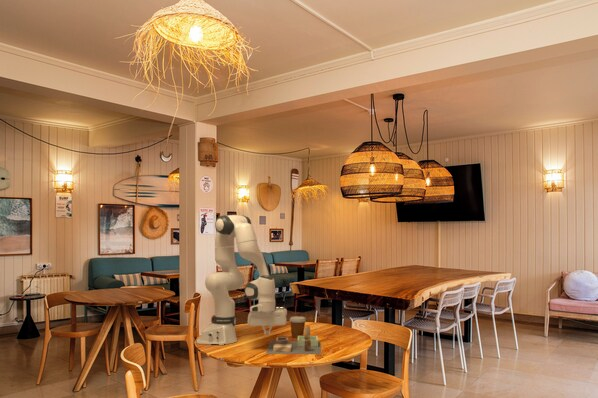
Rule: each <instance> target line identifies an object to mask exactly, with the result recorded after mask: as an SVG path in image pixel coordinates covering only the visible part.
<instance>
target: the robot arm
mask: <svg viewBox="0 0 598 398" xmlns="http://www.w3.org/2000/svg"><path fill="white" fill-rule="evenodd" d="M214 227H215V230H216V233H215V236H214V237H215V238H214V260H215V262H216V264H218V265H219V266H220V268H221V271H217V272H212V273H211V274H208V275H207V276H206V278H205V281H204V285H205V288H206V289H207V291H208V292H210V293H211V295H212V298H213V300H214V314H213V315H212V316H211V319H210V320H211V321H210V323H209V324H208V325H207V326H206V327H205V328H203V329H202V331H201V332H200V333H201V334H200V337H199V338H197V339H196V344H198V345H211V344H219V345H218V346H224V344H225V345H228V344H235V343H236V342H238V338H237V335H236V334H237V333H236V319H237V318H236V315H235V313H236V312H235V311H236V302H235V300H234V299H233V298H231V297H230V295H229V294H230V293H229V291H235V290H238V289H240V288H242V287H243V286H244V285H245V286H244V290H243V291H244V295H245V298H247V299H248V300H250V301H255V300H258V303H256V304H253V305H251V306H250V307H249V313H248V316H247V326H248V327H261V329H263V332H264V335H271V330H272V329H273V327H274V326H286V325H287V321H288V320H287V315H288V310H287V307H284V306H276V298H275V296H276V285H275V284H276V283H275V279H274V277H273V276H272V275H271V273H270V269H269V266H268V263H267V259H266V257H265V254H264V253H263V252H262V251H261V249H260V246H259V244H258V240H257V236H256V232H255V229H254V227H253V225H252V221H251V219H250V217H248V216H246V215H240V214H239V215H238V214H232V215H231V214H230V215H229V214H228V215H220V216H218V217H217V218H216V220H215V225H214ZM235 241H236V247H237V252H238V254H239V256H240V258H243V259H244V260H247V261H249V262H251V263H252V264H254V265H255V267H256V268H257V273H258V276H259V277H258V278H257V279H255V280H251V281H249V282H247V283H246V284H245V280H246V279H245V275H244V274H243V272H242V271H240V270H239V267H238V265H237V262H236V256H235V255H236V254H235ZM266 326H268V327H269V330H266Z"/></svg>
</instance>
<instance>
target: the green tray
mask: <svg viewBox="0 0 598 398" xmlns="http://www.w3.org/2000/svg"><path fill="white" fill-rule="evenodd" d="M310 340H311V347H318V342H319V337H318V335H310ZM296 341H297V347H305V335H303V336H298V339H296Z"/></svg>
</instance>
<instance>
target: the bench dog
mask: <svg viewBox="0 0 598 398" xmlns="http://www.w3.org/2000/svg"><path fill="white" fill-rule="evenodd" d="M305 351H311V340H305Z"/></svg>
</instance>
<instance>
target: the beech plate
mask: <svg viewBox="0 0 598 398" xmlns="http://www.w3.org/2000/svg"><path fill="white" fill-rule="evenodd" d="M291 346H292V344H274V347H273V352H291Z"/></svg>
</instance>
